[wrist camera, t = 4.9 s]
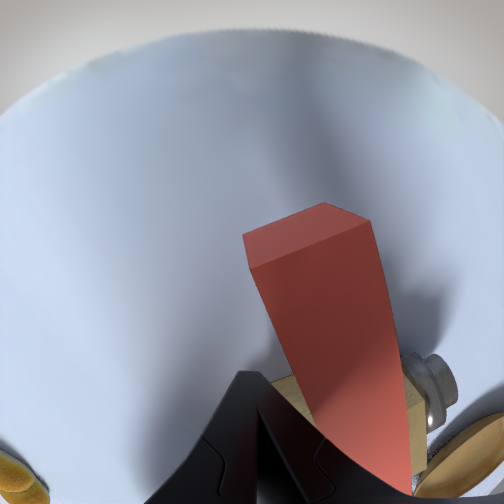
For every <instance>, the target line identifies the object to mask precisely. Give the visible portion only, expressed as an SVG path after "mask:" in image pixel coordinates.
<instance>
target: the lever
mask: <svg viewBox="0 0 504 504" xmlns="http://www.w3.org/2000/svg"><path fill="white" fill-rule="evenodd" d="M243 240H244V245H245V250H246V254H247V259H248V264H249V269H250V272H251V274H252V276H253V279H254V281H255V284H256V286H257V288H258V291H259V293H260V295H261V298H262V300H263V303H264V305H265V307H266V310H267V312H268V314H269V317H270V319H271V322H272V324H273V326H274V329H275V331H276V333H277V336H278V338H279V340H280V343H281V345H282V348H283V350H284V352H285V355H286V357H287V359H288V362H289V364H290V366H291V369H292V371H293V373H294V376H295V378H296V380H297V383H298V385H299V387H300V390H301V392H302V394H303V397H304V399H305V401H306V404H307V406H308V408H309V411H310V413H311V415H312V418H313V420H314V422H315V425H316V427H317V429H318V430H319V431H320V432H321V433H322V434H323V435H324V436H325V437H326V438H328V439H329V440H330V441H331V442H332V443H333V444H334V445H335V446H336V447H338V448H339V449H340V450H341V451H342V452H344V453H345V454H346V455H347V456H348V457H350V458H351V459H352V460H354V461H355V462H356V463H358V464H359V465H361V466H362V467H363V468H365V469H366V470H368V471H369V472H371V473H372V474H374V475H375V476H377V477H378V478H380V479H381V480H383V481H384V482H386V483H388V484H389V485H391V486H392V487H394V488H395V489H397V490H399V491H401V492H403V493H405V494H407V495H410V496H414V497H415V495H414V493H413V491H412V477H411V454H410V438H409V426H408V415H407V405H406V397H405V388H404V381H403V373H402V366H401V360H400V353H399V347H398V341H397V336H396V330H395V325H394V319H393V314H392V309H391V304H390V300H389V295H388V290H387V286H386V281H385V277H384V273H383V268H382V264H381V260H380V256H379V252H378V248H377V245H376V241H375V237H374V233H373V230H372V226H371V222H370V221H369V220H367V219H365V218H362V217H360V216H357V215H355V214H353V213H350V212H348V211H345V210H343V209H340V208H338V207H335V206H333V205H330V204H328V203H325V202H324V203H322V204H319V205H316V206H314V207H311V208H309V209H306V210H304V211H301V212H298V213H296V214H293V215H291V216H288V217H286V218H283V219H281V220H278V221H276V222H273V223H270V224H268V225H265V226H263V227H260V228H258V229H255V230H253V231H250V232H248V233H245V234H243ZM326 438H325V439H326Z"/></svg>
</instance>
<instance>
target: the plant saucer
mask: <svg viewBox="0 0 504 504" xmlns="http://www.w3.org/2000/svg"><path fill="white" fill-rule="evenodd" d="M503 461H504V412H502V413H497V414H493V415H490V416H487V417H484V418H482V419H480V420H478V421H476V422H475V423H473V424H471V425H470V426H468V427H467V428H466V429H464V430H463V431H462V432H460V433H459V434H458V435H456V436H455V437H454V438H453V439H451V440H450V441H449V442H448V443H447V444H446V445H445V446H444V447H443V448H442V449H441V450H440V451H439V452H438V453H437V454H436V455H435V456H434V457H433V458H432V459H431V460H430V462H429V463H428V464H427V469H426V470H424V471H423V472H422V474H421V476H420V478H419V481H418V483H417V485H416V488H415V491H414V495H415V497H420V498H458V497H460V496H462V495H463V494H465V493H466V492H468V491H469V490H471V489H472V488H474V487H475V486H477V485H478V484H479V483H480V482H482V481H483V480H484V479H485V478H487V477H488V476H489V475H490V474H491V473H492V472H493V471H494V470H495V469H496V468H497V467H498V466H499V465H500V464H501V463H502V462H503Z"/></svg>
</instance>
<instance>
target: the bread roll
mask: <svg viewBox="0 0 504 504" xmlns="http://www.w3.org/2000/svg"><path fill="white" fill-rule="evenodd" d="M0 494H1V496H2V497H3V498H4V499H5V500H6V501H7V502H8V503H9V504H50V496H49V492H48V490H47V489H46V487H45V486H44V485H43V484H42V483H41V482H40V481H39V480H38V479H37V478H36V477H35V475H34V473H33V472H32V471H31V470H30V469H29V468H28V467H27V466H26V465H25V464H24V463H22V462H21V461H19V460H18V459H16V458H15V457H13V456H11V455H10V454H8V453H6V452H4V451H3V450H1V449H0Z"/></svg>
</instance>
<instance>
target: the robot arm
mask: <svg viewBox="0 0 504 504" xmlns="http://www.w3.org/2000/svg"><path fill="white" fill-rule="evenodd" d="M325 438H326V437H325V436H324V435H323V434H322V433H321V432H320V431H319V430H318V429H317V428H316V427H315V426H314V425H313V424H311V423H310V422H309V421H308V420H307V419H306V418H305V417H304V416H303V415H302V414H301V413H300V412H299V411H298V410H297V409H296V408H295V407H294V406H293V405H292V404H291V403H290V402H289V401H288V400H287V399H286V398H285V397H284V396H283V395H282V394H281V393H280V392H279V391H278V390H277V389H276V388H275V387H274V386H273V385H272V384H271V383H270V382H269V381H268V380H267V379H266V378H265V377H264V376H263V375H262V374H261V373H260V372H258V371H238V372H237V374H236V376H235V377H234V379H233V381H232V383H231V384H230V386H229V388H228V389H227V391H226V393H225V395H224V396H223V398H222V400H221V402H220V403H219V405H218V407H217V408H216V410H215V412H214V413H213V415H212V417H211V419H210V420H209V422H208V424H207V425H206V427H205V429H204V430H203V432H202V434H201V435H200V438H198V440H197V442H196V443H195V445H194V446H193V448H192V449H191V451H190V452H189V454H188V455H187V457H186V458H185V460H184V461H183V462H182V463H181V464H180V466H179V467H178V468H177V469H176V470H175V471H174V473H173V474H172V475H171V476H170V477H169V478H168V479H167V480H166V481H165V482H164V483H163V484H162V485H161V486H160V487H159V489H158V490H157V491H156V492H155V493H154V494H153V495H152V496H151V497H150V498H149V499H148V500H147V501H146V502H145V503H144V504H504V492H503V493H499V494H495V495H488V496H478V497H460V498H420V497H414V496H410V495H407V494H405V493H403V492H401V491H399V490H397V489H395V488H394V487H392V486H391V485H389V484H388V483H386V482H384V481H383V480H381V479H380V478H378V477H377V476H375V475H374V474H372V473H371V472H369V471H368V470H366V469H365V468H363V467H362V466H361V465H359V464H358V463H356V462H355V461H354V460H352V459H351V458H350V457H348V456H347V455H346V454H345V453H344V452H342V451H341V450H340V449H339V448H338V447H336V446H335V445H334V444H333V443H332V442H331V441H330V440H329V439H328V438H326V439H325Z"/></svg>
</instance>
